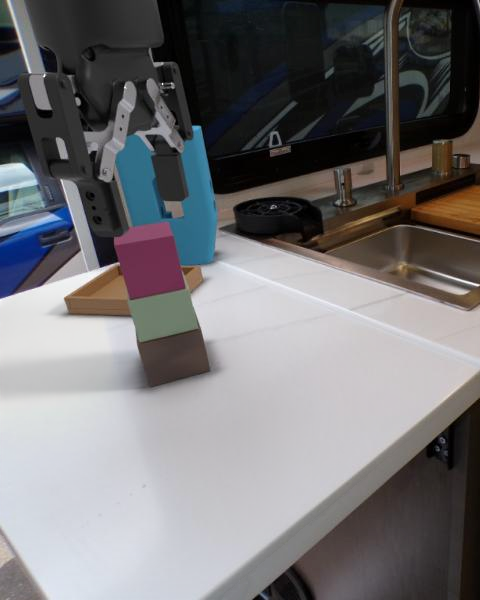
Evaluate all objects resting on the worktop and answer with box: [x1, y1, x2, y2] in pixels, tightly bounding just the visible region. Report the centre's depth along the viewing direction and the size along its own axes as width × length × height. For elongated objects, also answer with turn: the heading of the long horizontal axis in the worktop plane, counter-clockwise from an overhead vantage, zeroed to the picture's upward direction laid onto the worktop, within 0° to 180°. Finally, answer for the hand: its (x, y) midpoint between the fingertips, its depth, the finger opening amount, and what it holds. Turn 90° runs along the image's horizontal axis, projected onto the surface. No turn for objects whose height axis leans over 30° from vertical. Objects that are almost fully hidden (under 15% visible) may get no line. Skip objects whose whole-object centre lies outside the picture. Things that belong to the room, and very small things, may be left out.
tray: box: [63, 263, 204, 316], centre depth 72 cm, size 13×11×2 cm
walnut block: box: [134, 306, 211, 388], centre depth 55 cm, size 6×6×5 cm
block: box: [115, 125, 219, 266], centre depth 79 cm, size 12×5×20 cm, turn 102°
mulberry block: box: [113, 221, 186, 300], centre depth 51 cm, size 5×5×6 cm
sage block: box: [126, 271, 198, 343], centre depth 53 cm, size 6×6×4 cm
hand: (147, 216), depth 40 cm, fingers open, 8 cm apart
